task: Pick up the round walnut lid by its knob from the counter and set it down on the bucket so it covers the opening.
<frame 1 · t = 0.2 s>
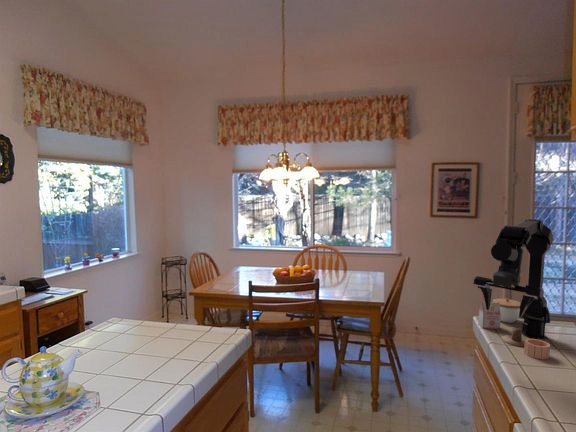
hand: (503, 313, 121), 15 cm above the kitchen counter, tool pointing down, fingers open, 9 cm apart
bucket: (536, 354, 128), on the kitchen counter
white red-printed box: (488, 327, 154), on the kitchen counter
lidded jar: (506, 320, 162), on the kitchen counter
lid: (516, 342, 139), on the kitchen counter
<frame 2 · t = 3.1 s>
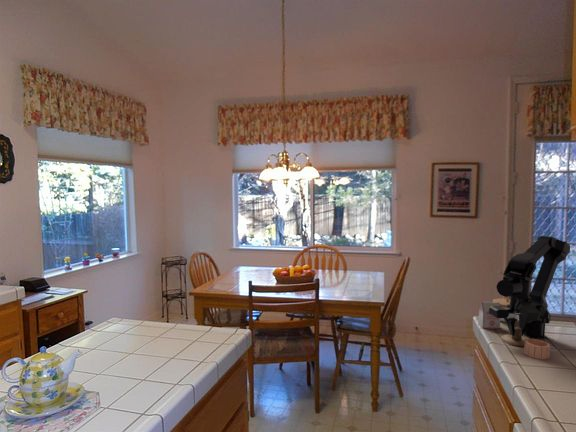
hand: (516, 335, 138), 2 cm above the kitchen counter, tool pointing down, fingers closed on lid, 3 cm apart
lid: (516, 341, 139), on the kitchen counter, touching gripper
everything else where it was.
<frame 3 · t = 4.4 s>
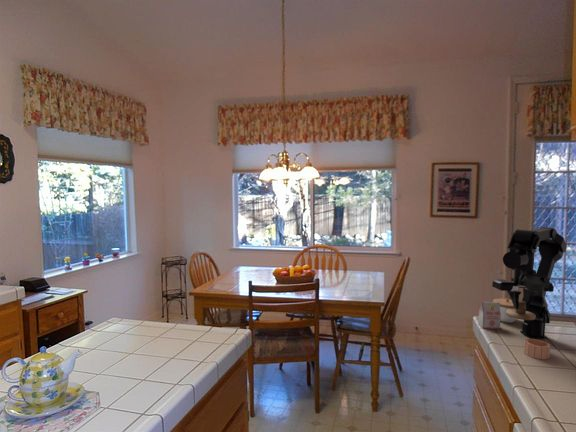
hand: (520, 309, 136), 12 cm above the kitchen counter, tool pointing down, fingers closed on lid, 3 cm apart
lid: (520, 315, 137), point 10 cm above the kitchen counter, touching gripper
everything else where it was.
when the fingers open (8 cm above the kitchen counter, at t = 6.0 s): lid drops 1 cm, resting on bucket.
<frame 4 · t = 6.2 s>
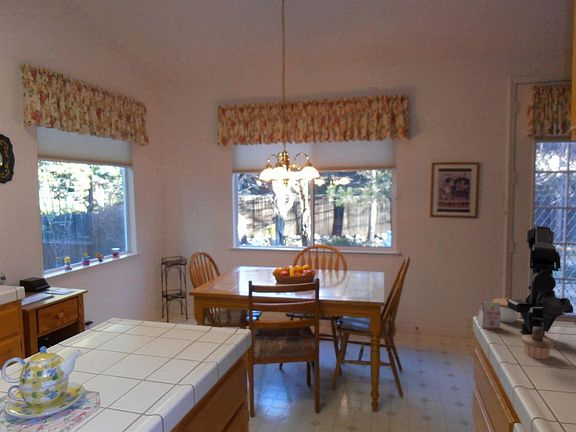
hand: (538, 331, 128), 8 cm above the kitchen counter, tool pointing down, fingers open, 5 cm apart
lid: (537, 342, 128), point 4 cm above the kitchen counter, touching bucket
everything else where it was.
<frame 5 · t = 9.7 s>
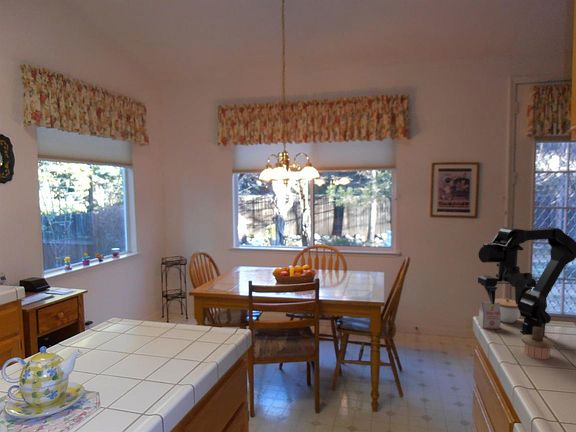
hand: (505, 304, 142), 13 cm above the kitchen counter, tool pointing down, fingers open, 9 cm apart
nothing on the kitchen counter moved.
at the end: lid 0.0 cm off-centre on the bucket, point 4.0 cm above the bucket's base; lid tilted 0°; the gripper is holding nothing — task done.
